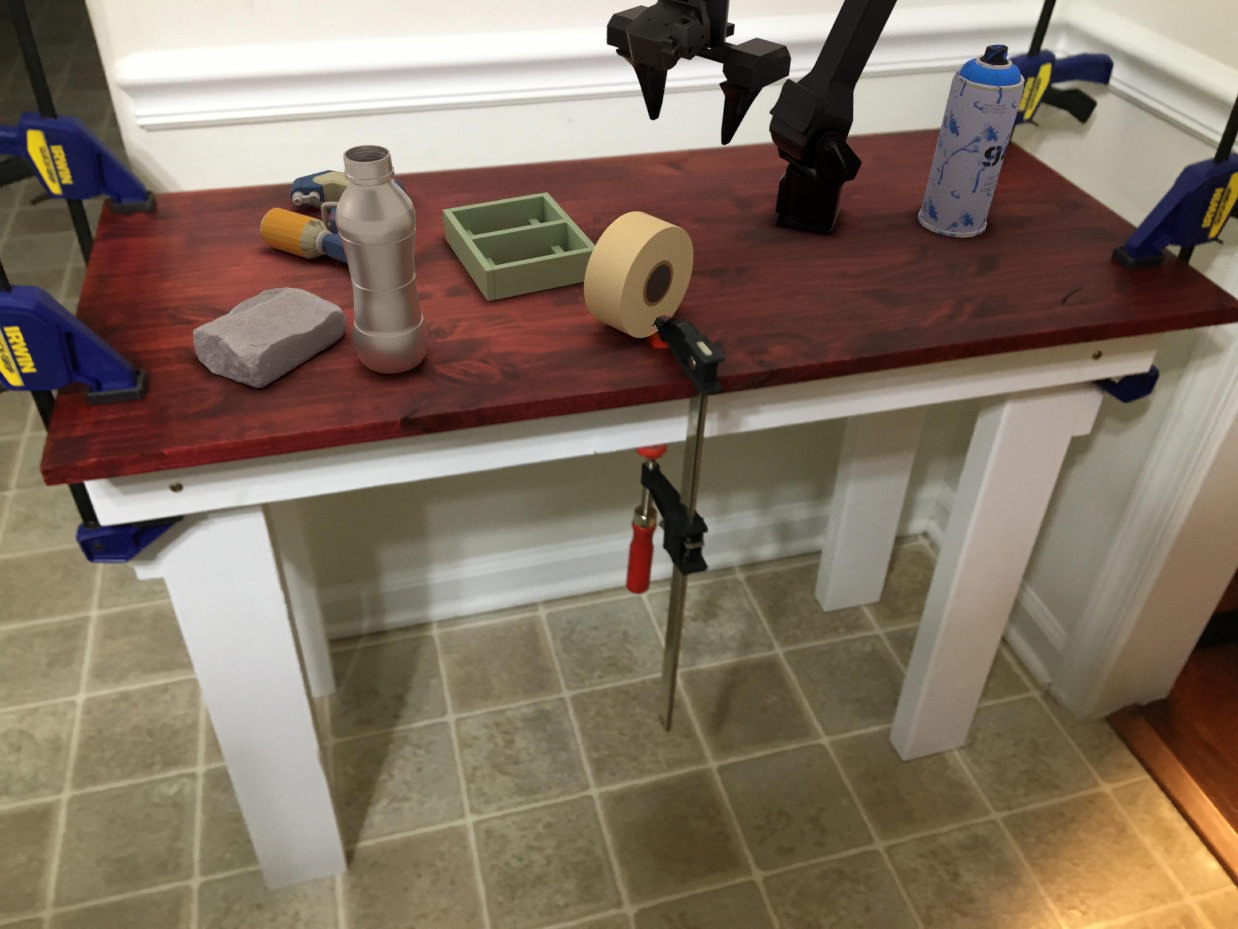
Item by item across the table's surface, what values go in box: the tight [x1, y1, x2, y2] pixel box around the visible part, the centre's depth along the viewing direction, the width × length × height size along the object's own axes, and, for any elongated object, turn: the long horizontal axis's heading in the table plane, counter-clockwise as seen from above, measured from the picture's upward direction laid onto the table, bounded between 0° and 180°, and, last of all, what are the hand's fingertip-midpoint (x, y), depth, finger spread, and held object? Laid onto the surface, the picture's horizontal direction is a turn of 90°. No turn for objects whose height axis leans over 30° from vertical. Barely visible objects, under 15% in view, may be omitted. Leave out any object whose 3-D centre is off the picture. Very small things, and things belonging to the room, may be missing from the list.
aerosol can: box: [917, 44, 1025, 239], centre depth 112 cm, size 8×8×20 cm
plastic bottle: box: [335, 144, 430, 375], centre depth 87 cm, size 6×7×20 cm
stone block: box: [192, 286, 348, 389], centre depth 93 cm, size 12×5×10 cm
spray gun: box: [259, 169, 407, 265], centre depth 111 cm, size 21×4×15 cm
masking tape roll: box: [583, 210, 694, 339], centre depth 96 cm, size 11×5×11 cm, turn 141°
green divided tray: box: [442, 191, 596, 302], centre depth 108 cm, size 12×14×4 cm
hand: (689, 131), depth 104 cm, fingers open, 9 cm apart
